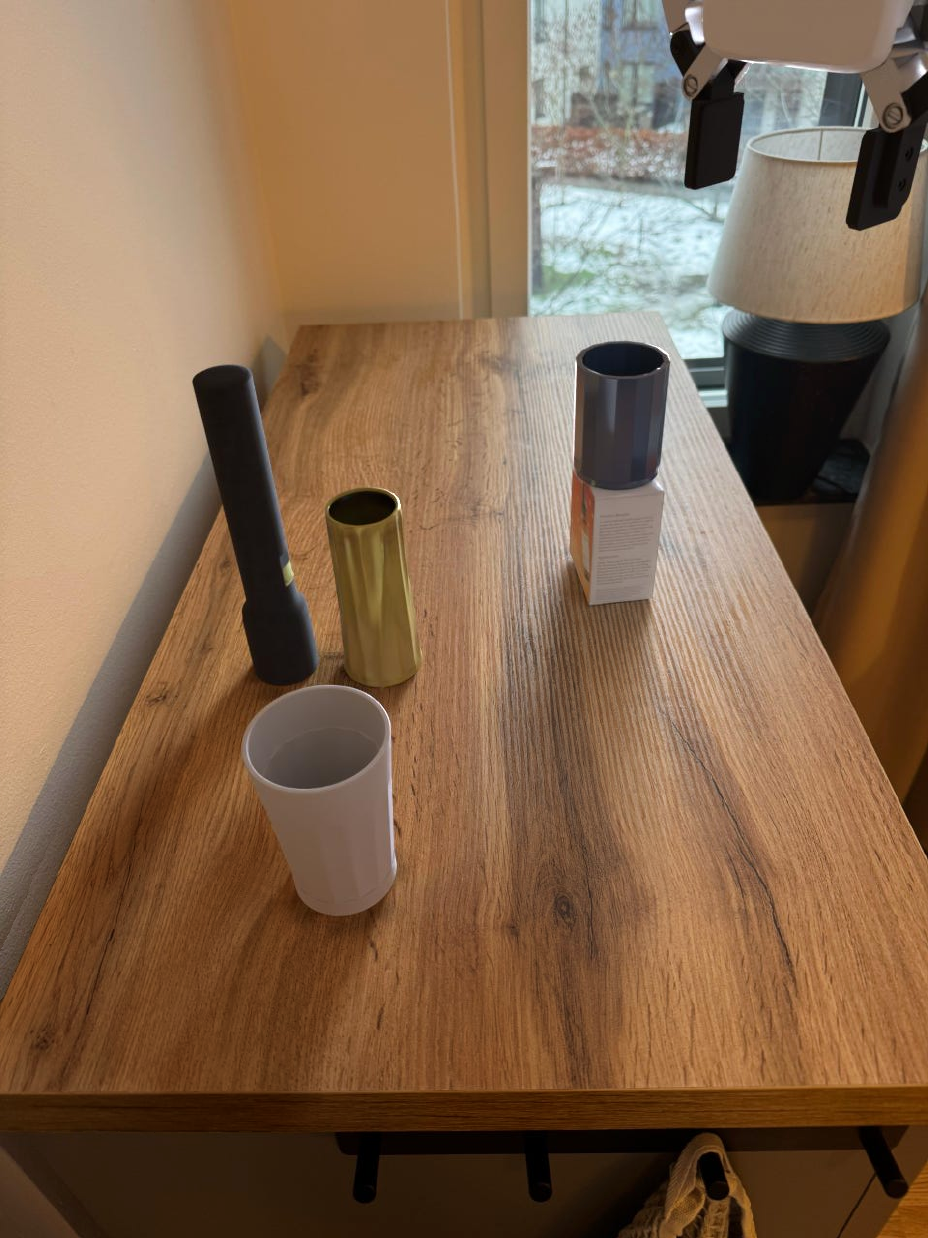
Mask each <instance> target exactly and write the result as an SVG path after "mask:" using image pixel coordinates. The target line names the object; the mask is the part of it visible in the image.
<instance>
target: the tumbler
mask: <svg viewBox="0 0 928 1238" xmlns="http://www.w3.org/2000/svg"><path fill="white" fill-rule="evenodd" d="M574 366H575V367H574V373H575V374H574V398H573V399H574V400H573V401H574V402H573V432H572V433H573V434H572V435H573V436H572V438H573V439H572V470H574V473H575V475H576V476H577V477H578V478H579V479H580V480H582V481H583V482H585V483H587V484H589V485H592V486H594V487H598V488H602V489H610V490H626V489H633V488H637V487H641V486H643V485H646V484H648V483H650V482H651V481H652V480H654V479H655V478H656V479H657V476H658V474H659V472H660V466H661V464H662V463H661V462H662V461H661V460H662V452H663V451H662V450H663V442H664V431H665V421H666V419H665V418H666V410H667V400H668V399H667V398H668V391H669V390H668V389H669V381H670V380H669V379H670V370H671V369H670V368H671V360H670V357H669V354H668V353H667V352H666V351H664V350H663V349H661V348H660V347H658V346H655V345H653V344H649V343H646V342H640V341H631V340H612V341H604V342H600V343H595V344H592V345H590V346H588V347H586V348H583V349H581V350H580V351H579V352H578V354H577V355H576V356H575V365H574Z"/></svg>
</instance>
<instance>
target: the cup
mask: <svg viewBox="0 0 928 1238" xmlns="http://www.w3.org/2000/svg"><path fill="white" fill-rule="evenodd" d="M391 728H392V727H391V721H390V718H389V715H388V714H387V712H386V710H385V709H384V707H383V706H382V705H381V703H380V702H379V701H378V700H376V698H374V697H373V696H371V695H370V694H368V693H366V692H364V691H362V690H359V689H356V688H354V687H351V686H345V685H337V684H321V685H320V684H319V685H311V686H307V687H303V688H299V689H296V690H292V691H290V692H287V693H285V694H283V695H281V696H278V697H277V698H275V699H274V700H272V701H271V702H269V703H268V704H266V705H265V706H263V708H262V709H260V710H259V711H258V712H257V713H256V714H255V715H254V717H253V718H252V719H251V721H250V722H249V724H247V727H246V728H245V731H244V733H243V736H242V739H241V740H242V741H241V746H240V747H241V748H240V749H241V750H240V752H241V758H242V762H243V764H244V766H245V767H244V768H245V769H246V772H247V774H248V776H249V778H250V780H251V782H252V785H253V788H254V790H255V792H256V793H257V796H258V798H259V801H260V803H261V804H262V807H263V808H264V810H265V812H266V815H267V817H268V819H269V821H270V824H271V827H272V829H273V832H274V834H275V837H276V839H277V841H278V844H279V846H280V848H281V850H282V853H283V855H284V858H285V861H286V863H287V865H288V868H289V870H290V873H291V877H292V881H293V884H294V888H295V891H296V893H297V895H298V897H299V899H300V900H301V901H302V903H304V905H305V906H306V907H308V908H309V909H310V910H313V911H314V912H317V913H320V914H322V915H326V916H333V917H342V916H343V917H347V916H351V915H357V914H359V913H361V912H364V911H366V910H368V909H370V908H372V907H373V906H375V905H377V904H378V903H379V902H380V901H382V899H384V897H385V896H386V895H387V894H388V892H389V891H390V890H391V888H392V886H393V885H394V882H395V879H396V876H397V870H398V869H397V868H398V867H397V857H396V852H395V836H394V809H393V807H394V806H393V805H394V804H393V786H392V785H393V784H392V782H393V781H392V729H391Z"/></svg>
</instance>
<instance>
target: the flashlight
mask: <svg viewBox="0 0 928 1238" xmlns="http://www.w3.org/2000/svg"><path fill="white" fill-rule="evenodd" d="M253 376H254V375H253V372H252V371H251V369H250V368H248V367H246V366H243V365H239V364H232V363H231V364H219V365H214V366H210V367H207V368H205V369H202V370H201V371H199V372H197V373H196V374H195V375H194V376H193V378H192V381H191V382H192V383H191V384H192V387H193V392H194V396H195V400H196V403H197V407H198V411H199V416H200V419H201V424H202V427H203V430H204V431H203V432H204V435H205V436H204V437H205V439H206V444H207V447H208V452H209V455H210V460H211V465H212V467H213V471H214V476H215V480H216V484H217V488H218V492H219V497H220V500H221V503H222V509H223V512H224V516H225V521H226V525H227V528H228V532H229V536H230V540H231V544H232V549H233V552H234V556H235V561H236V564H237V568H238V572H239V577H240V581H241V584H242V588H243V592H244V597H245V601H244V603H243V604H242V607H241V619H242V624H243V629H244V633H245V638H246V643H247V647H248V650H249V654H250V657H251V661H252V665H253V669H254V672H255V675H256V677H257V678H258V679H259V680H260V681H261V682H263V683H265V684H267V685H269V686H276V687H284V686H285V687H286V686H291V685H292V686H293V685H296V684H298V683H300V682H303V681H304V680H306V679H308V678H309V677H310V676H312V675H313V674H314V673H315V672H316V669H317V668H318V666H319V664H320V663H319V662H320V658H319V653H318V647H317V642H316V638H315V632H314V627H313V623H312V619H311V614H310V610H309V605H308V602H307V600H306V597H305V596H304V594H303V593H302V592H301V591H300V590H298V589H297V586H296V583H295V578H294V576H295V573H294V571H293V567H292V564H291V559H290V553H289V548H288V544H287V538H286V534H285V530H284V525H283V524H284V523H283V519H282V515H281V509H280V505H279V504H280V503H279V499H278V495H277V490H276V485H275V480H274V475H273V470H272V466H271V461H270V455H269V452H268V446H267V441H266V440H267V439H266V436H265V431H264V426H263V420H262V416H261V412H260V407H259V406H260V405H259V402H258V396H257V392H256V386H255V382H254V377H253Z"/></svg>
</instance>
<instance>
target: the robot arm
mask: <svg viewBox="0 0 928 1238" xmlns="http://www.w3.org/2000/svg"><path fill="white" fill-rule="evenodd" d="M661 4H662V8H663V12H664V17H665V21H666V25H667V29H668V34H669V35H671V38H670V41H669V51H670V54H671V56H672V58H673V60H674V62H675V64H676V66H677V68H678V70H679V72H680V74H681V77H682V79H681V83H680V84H681V85H680V86H681V87H680V88H681V94H682V95H683V97H684V98H685V99H687V100H688V101H691V102H690V103H691V105H690V114H689V116H690V117H689V123H688V124H689V125H688V135H687V143H686V154H685V155H686V156H685V165H684V166H685V167H684V177H683V185H684V187H685V188H686V189H689V190H692V191H697V190H701V189H704V188H707V187H711V186H714V185H718V184H722V183H725V182H726V183H727V182H729V181H731V180H733V178H735V176H736V173H737V166H738V159H739V151H740V142H741V135H742V127H743V119H744V110H745V92H744V91H743V92H742V91H735V88H736V86H737V85H738V84H739V83H740V81H741V80H742V78H743V77H744V76H745V75H746V73H747V72H748V71H749V70H750V68H751V67H752V66H753V64H761V65H767V66H768V65H770V66H777V67H786V68H791V69H793V68H794V69H803V70H810V71H817V72H827V73H837V74H859V76H860V79H861V81H862V83H863V87H864V88H865V91H866V93H867V96H868V98H869V101H870V103H871V106H872V108H873V111H874V113H875V116H876V118H877V120H878V126H877V127H874V128H870V129H867V130H865V133H864V134H863V136H862V137H861V142H860V146H859V151H858V156H857V160H856V161H857V162H856V166H855V171H854V177H853V181H852V186H851V191H850V195H849V200H848V205H847V211H846V215H845V224H846V225H847V228H848V229H850V230H854V231H858V232H862V231H865V230H868V229H870V228H874V227H877V226H880V225H882V224H886V223H888V222H891V221H894V220H896V219H898V217H899V215H900V214H901V212H902V209H903V206H904V205H905V204H906V203H907V201H908V199H909V198H910V195H911V192H912V187H913V183H914V179H915V176H916V171H917V166H918V163H919V160H920V159H919V158H920V154H921V150H922V145H923V142H924V138H925V134H926V129H927V126H928V0H661Z"/></svg>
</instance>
